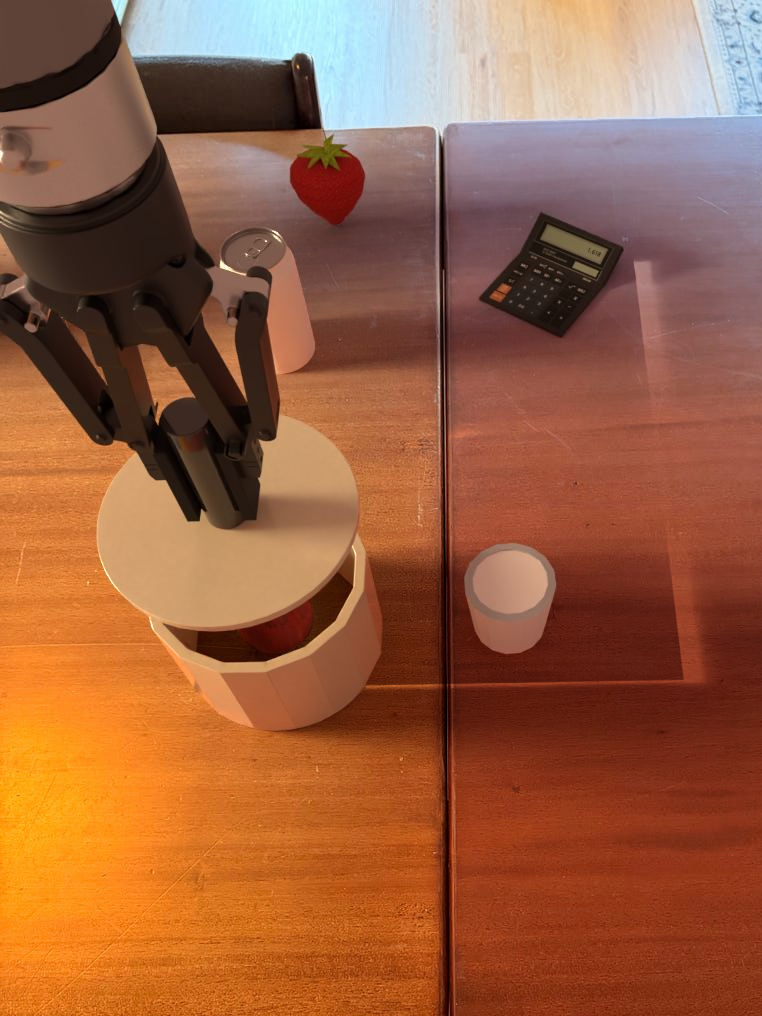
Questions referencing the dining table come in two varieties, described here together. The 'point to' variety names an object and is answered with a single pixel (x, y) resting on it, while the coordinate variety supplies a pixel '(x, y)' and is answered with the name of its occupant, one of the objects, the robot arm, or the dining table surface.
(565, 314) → the calculator
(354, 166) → the strawberry
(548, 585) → the shot glass
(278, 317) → the can
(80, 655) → the dining table surface
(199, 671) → the pot
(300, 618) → the onion
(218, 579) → the pot lid
